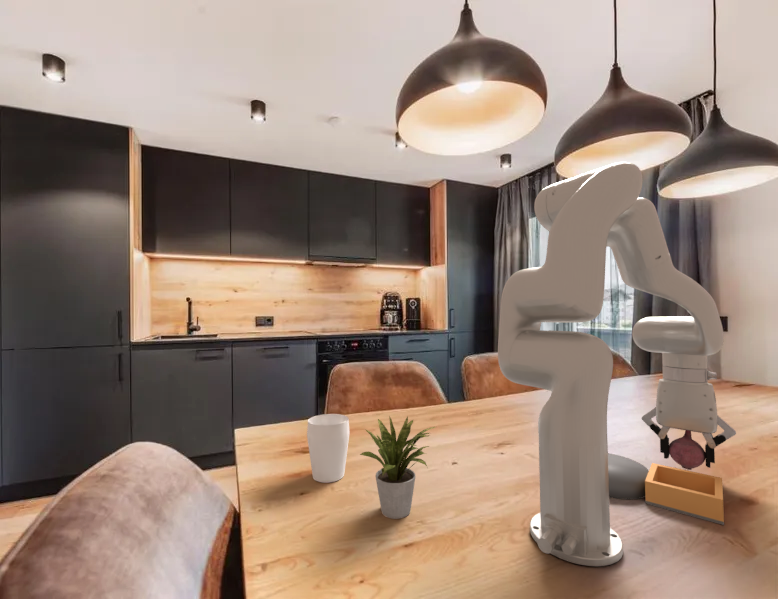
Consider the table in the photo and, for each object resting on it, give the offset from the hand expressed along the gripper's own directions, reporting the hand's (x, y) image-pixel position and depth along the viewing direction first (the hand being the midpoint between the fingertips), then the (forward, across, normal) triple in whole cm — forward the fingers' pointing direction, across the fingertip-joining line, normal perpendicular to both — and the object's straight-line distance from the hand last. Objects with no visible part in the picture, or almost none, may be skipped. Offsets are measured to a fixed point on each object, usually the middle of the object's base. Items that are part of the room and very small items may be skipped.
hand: (686, 460), depth 78 cm
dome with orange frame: (+3, +7, +14) cm, 16 cm away
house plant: (+5, +37, +51) cm, 63 cm away
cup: (+5, +58, +49) cm, 76 cm away
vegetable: (+2, 0, 0) cm, 2 cm away
